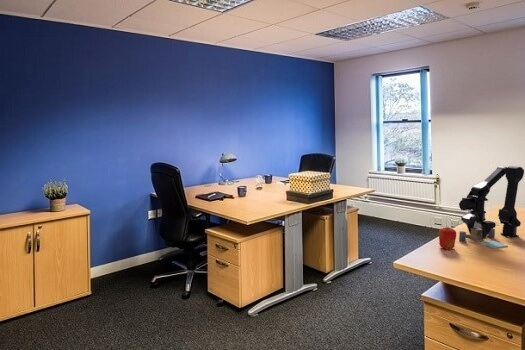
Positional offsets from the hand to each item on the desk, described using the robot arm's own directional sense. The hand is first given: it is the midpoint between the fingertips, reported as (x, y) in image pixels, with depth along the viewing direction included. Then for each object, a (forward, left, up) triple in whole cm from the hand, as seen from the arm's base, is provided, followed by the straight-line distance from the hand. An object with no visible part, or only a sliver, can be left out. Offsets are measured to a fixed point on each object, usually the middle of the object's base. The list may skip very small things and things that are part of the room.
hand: (477, 236), depth 209 cm
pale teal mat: (0, +11, -2) cm, 11 cm away
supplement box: (-14, -16, -2) cm, 21 cm away
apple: (+26, +8, -2) cm, 27 cm away
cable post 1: (+9, 0, -2) cm, 10 cm away
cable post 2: (-10, 0, -2) cm, 10 cm away
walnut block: (0, 0, -2) cm, 2 cm away
